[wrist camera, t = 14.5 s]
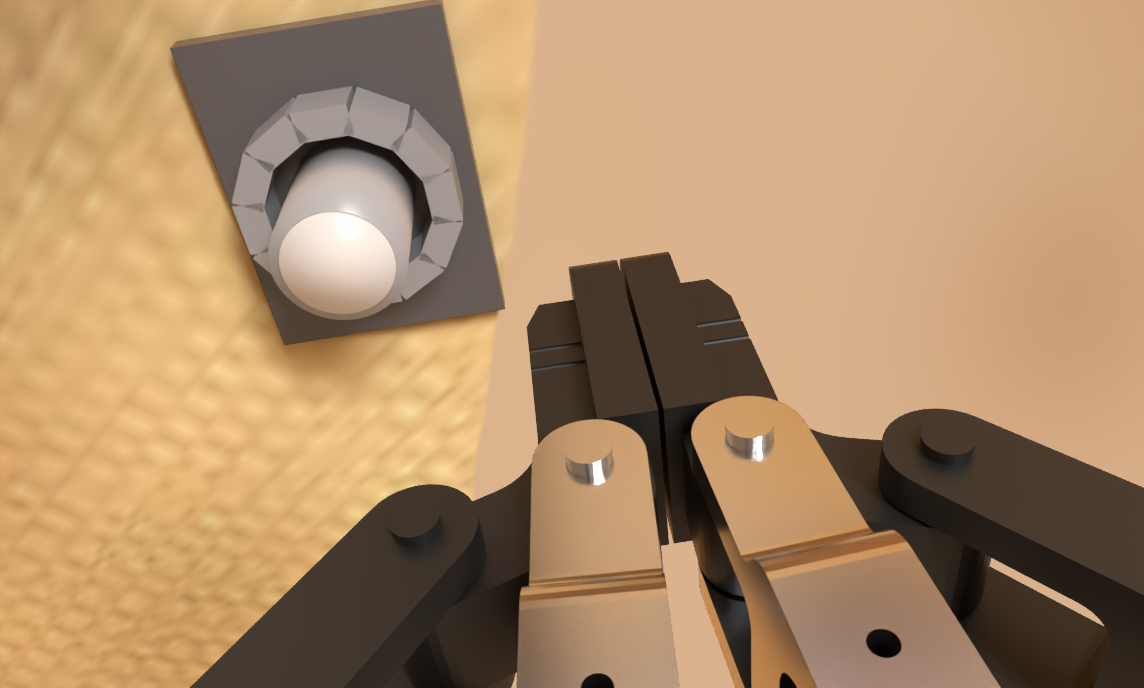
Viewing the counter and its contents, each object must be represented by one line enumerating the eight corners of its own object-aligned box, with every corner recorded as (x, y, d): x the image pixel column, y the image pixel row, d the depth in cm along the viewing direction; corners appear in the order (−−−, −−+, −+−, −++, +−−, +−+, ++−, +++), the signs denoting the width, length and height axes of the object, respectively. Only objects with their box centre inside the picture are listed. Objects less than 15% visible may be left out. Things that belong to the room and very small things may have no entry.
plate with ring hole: (176, 41, 40) (154, 64, 37) (441, -2, 40) (439, 18, 37) (288, 334, 49) (276, 371, 46) (504, 299, 49) (506, 333, 47)
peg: (278, 146, 42) (246, 215, 36) (400, 126, 42) (388, 192, 36) (314, 253, 46) (291, 333, 40) (427, 235, 46) (421, 311, 40)
